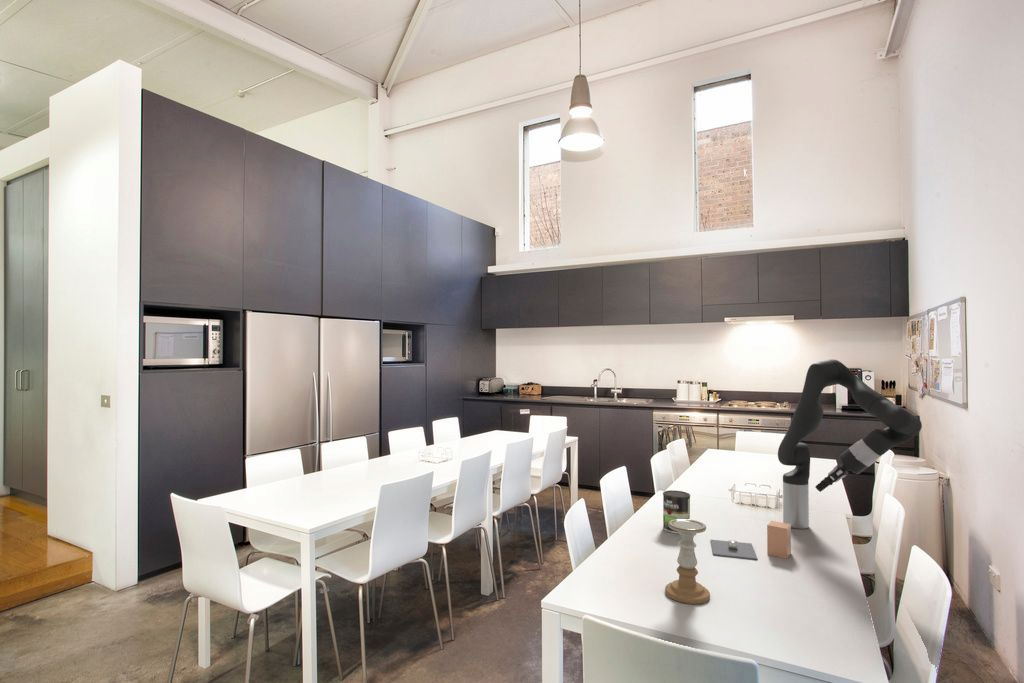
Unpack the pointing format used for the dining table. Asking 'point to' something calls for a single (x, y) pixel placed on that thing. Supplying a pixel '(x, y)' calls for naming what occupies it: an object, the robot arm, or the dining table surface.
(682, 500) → the coffee can
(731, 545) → the metal tin
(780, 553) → the tall peach brick
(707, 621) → the dining table surface
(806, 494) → the robot arm
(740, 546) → the charcoal mat
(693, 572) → the candle holder
